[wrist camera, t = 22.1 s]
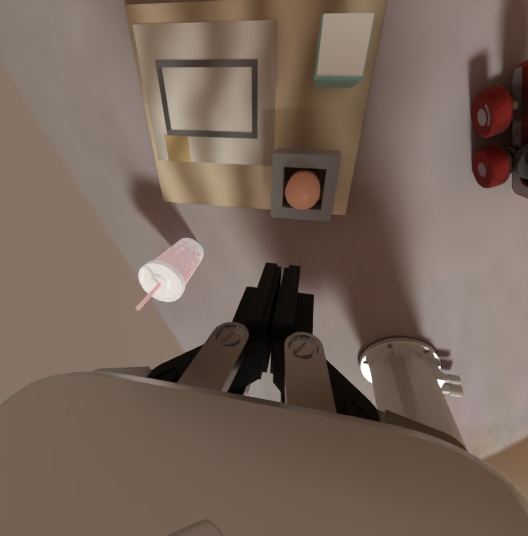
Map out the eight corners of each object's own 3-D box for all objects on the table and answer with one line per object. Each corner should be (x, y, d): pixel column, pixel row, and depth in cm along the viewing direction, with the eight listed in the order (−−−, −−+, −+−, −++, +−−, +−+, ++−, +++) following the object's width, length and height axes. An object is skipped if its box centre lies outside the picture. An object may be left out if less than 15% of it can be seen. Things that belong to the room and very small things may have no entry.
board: (386, -5, 23) (388, -9, 22) (344, 213, 33) (345, 215, 33) (128, 6, 26) (123, 4, 26) (165, 200, 37) (162, 201, 36)
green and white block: (357, 44, 24) (378, 8, 15) (349, 88, 26) (365, 78, 17) (320, 44, 25) (320, 9, 16) (315, 87, 26) (313, 77, 18)
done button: (321, 166, 30) (322, 176, 26) (318, 197, 32) (317, 210, 28) (290, 164, 30) (286, 174, 26) (288, 195, 32) (284, 208, 28)
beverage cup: (173, 227, 39) (111, 279, 27) (211, 242, 39) (165, 299, 28) (169, 259, 42) (112, 317, 31) (204, 272, 43) (160, 335, 31)
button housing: (339, 150, 29) (341, 156, 26) (329, 210, 33) (330, 222, 29) (277, 147, 30) (272, 153, 27) (275, 206, 34) (270, 217, 30)
